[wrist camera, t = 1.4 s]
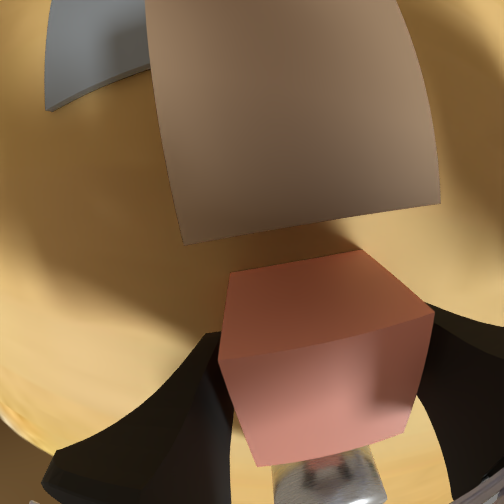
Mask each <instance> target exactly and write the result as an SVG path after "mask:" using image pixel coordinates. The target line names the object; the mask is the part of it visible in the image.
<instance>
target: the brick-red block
mask: <svg viewBox="0 0 504 504" xmlns="http://www.w3.org/2000/svg"><path fill="white" fill-rule="evenodd" d="M434 315H435V312H434V311H433V310H432V309H431V308H430V307H429V306H428V305H427V304H426V303H425V302H423V301H422V300H421V299H420V298H419V297H418V296H417V295H416V294H414V293H413V292H412V291H411V290H410V289H409V288H408V287H406V286H405V285H404V284H403V283H402V282H401V281H400V280H398V279H397V278H396V277H395V276H394V275H393V274H391V273H390V272H389V271H388V270H387V269H385V268H384V267H383V266H382V265H381V264H379V263H378V262H377V261H376V260H375V259H373V258H372V257H371V256H370V255H368V254H367V253H366V252H365V251H363V250H362V249H360V250H355V251H350V252H344V253H339V254H334V255H328V256H323V257H317V258H312V259H306V260H301V261H295V262H290V263H284V264H278V265H273V266H267V267H261V268H255V269H249V270H244V271H238V272H232V273H230V276H229V283H228V290H227V297H226V304H225V311H224V318H223V325H222V332H221V340H220V347H219V354H218V363H219V366H220V369H221V372H222V375H223V378H224V381H225V383H226V386H227V389H228V392H229V395H230V398H231V401H232V403H233V406H234V409H235V412H236V414H237V417H238V420H239V423H240V425H241V428H242V430H243V433H244V436H245V438H246V441H247V443H248V446H249V448H250V451H251V453H252V456H253V458H254V461H255V463H256V466H257V467H262V466H271V465H279V464H286V463H293V462H299V461H304V460H310V459H315V458H320V457H324V456H329V455H333V454H337V453H341V452H345V451H349V450H352V449H356V448H360V447H363V446H366V445H369V444H373V443H376V442H379V441H382V440H385V439H387V438H390V437H393V436H396V435H398V434H401V433H403V432H404V430H405V427H406V424H407V421H408V419H409V416H410V413H411V410H412V407H413V404H414V401H415V397H416V394H417V391H418V387H419V384H420V380H421V377H422V373H423V369H424V365H425V361H426V357H427V352H428V348H429V343H430V338H431V333H432V327H433V321H434Z"/></svg>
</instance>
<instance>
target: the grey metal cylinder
mask: <svg viewBox="0 0 504 504" xmlns="http://www.w3.org/2000/svg"><path fill="white" fill-rule="evenodd" d="M271 466H272V480H273V493H274V504H383V503H385V501H386V500H387V495H386V492H385V489H384V487H383V484H382V481H381V478H380V475H379V472H378V469H377V467H376V464H375V461H374V458H373V455H372V453H371V450H370V447H369V445H366V446H363V447H360V448H356V449H352V450H349V451H345V452H341V453H337V454H333V455H329V456H324V457H320V458H315V459H310V460H304V461H299V462H293V463H286V464H279V465H271Z"/></svg>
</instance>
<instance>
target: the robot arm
mask: <svg viewBox="0 0 504 504" xmlns="http://www.w3.org/2000/svg"><path fill="white" fill-rule="evenodd" d="M425 303H426V302H425ZM426 304H427V305H428V306H429V307H430V308H431V309H432V310H433V311H434V312H435V315H434V321H433V327H432V333H431V338H430V343H429V348H428V352H427V357H426V361H425V365H424V369H423V373H422V377H421V380H420V384H419V387H418V391H417V394H416V395H417V396H418V398H419V399H420V401H421V402H422V404H423V406H424V408H425V410H426V412H427V414H428V416H429V418H430V421H431V423H432V425H433V428H434V430H435V433H436V436H437V438H438V441H439V444H440V447H441V450H442V453H443V457H444V460H445V464H446V467H447V472H448V477H449V482H450V487H451V494H452V498H453V500H454V501H453V502H451V503H449V504H483V503H484V502H486V501H487V500H489V499H490V498H491V497H493V496H494V495H495V494H497V493H498V492H499V491H500V492H499V494H498V498H497V500H496V501H495V502H494V503H493V504H504V327H500V326H495V325H491V324H486V323H482V322H479V321H475V320H472V319H469V318H466V317H463V316H460V315H457V314H454V313H451V312H449V311H446V310H443V309H441V308H438V307H436V306H433V305H431V304H428V303H426ZM220 340H221V332H214V333H206V334H205V335H204V336H203V337H202V339H201V340H200V341H199V343H198V344H197V345H196V346H195V348H194V349H193V350H192V352H191V353H190V354H189V355H188V357H187V358H186V359H185V360H184V362H183V363H182V364H181V365H180V367H179V368H178V369H177V370H176V371H175V372H174V373H173V374H172V375H171V377H170V378H169V379H168V380H167V381H166V382H165V383H164V384H163V385H162V386H161V387H160V388H159V389H158V390H157V391H156V392H155V393H154V394H153V395H152V396H151V397H149V398H148V399H147V400H146V401H145V402H144V403H142V404H141V405H140V406H139V407H138V408H136V409H135V410H133V411H132V412H131V413H129V414H128V415H126V416H125V417H124V418H122V419H121V420H119V421H118V422H116V423H115V424H113V425H111V426H110V427H108V428H106V429H105V430H103V431H101V432H99V433H97V434H95V435H93V436H91V437H89V438H87V439H85V440H83V441H80V442H78V443H75V444H73V445H70V446H68V447H65V448H63V449H60V450H57V451H56V452H55V454H54V456H53V458H52V461H51V462H50V465H49V467H48V469H47V471H46V473H45V475H44V477H43V480H42V482H41V484H42V486H43V488H44V490H45V491H46V492H48V494H50V495H51V496H52V497H53V498H55V499H56V500H57V501H59V502H60V503H62V504H231V489H230V443H231V433H232V424H233V415H234V406H233V403H232V401H231V398H230V395H229V392H228V389H227V386H226V383H225V381H224V378H223V375H222V372H221V369H220V366H219V363H218V354H219V347H220ZM29 504H39V503H37V502H35V501H33V500H32V501H30V503H29Z"/></svg>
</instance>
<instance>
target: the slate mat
mask: <svg viewBox="0 0 504 504" xmlns="http://www.w3.org/2000/svg"><path fill="white" fill-rule="evenodd" d="M148 69H151V66H150V57H149V48H148V37H147V26H146V13H145V0H52V1H51V7H50V13H49V21H48V29H47V38H46V51H45V110H46V111H51V112H53V111H54V110H56V109H58V108H60V107H62V106H64V105H66V104H67V103H69V102H71V101H73V100H75V99H77V98H79V97H81V96H83V95H86V94H88V93H90V92H92V91H94V90H96V89H99V88H101V87H103V86H106V85H108V84H110V83H113V82H115V81H118V80H120V79H123V78H125V77H128V76H131V75H133V74H136V73H139V72H142V71H145V70H148Z"/></svg>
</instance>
